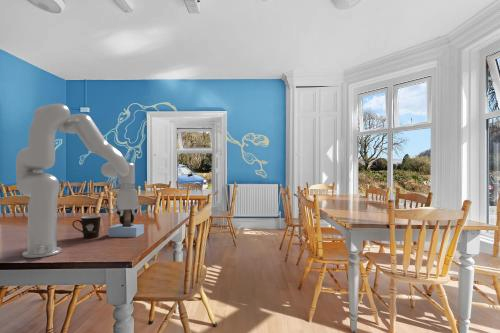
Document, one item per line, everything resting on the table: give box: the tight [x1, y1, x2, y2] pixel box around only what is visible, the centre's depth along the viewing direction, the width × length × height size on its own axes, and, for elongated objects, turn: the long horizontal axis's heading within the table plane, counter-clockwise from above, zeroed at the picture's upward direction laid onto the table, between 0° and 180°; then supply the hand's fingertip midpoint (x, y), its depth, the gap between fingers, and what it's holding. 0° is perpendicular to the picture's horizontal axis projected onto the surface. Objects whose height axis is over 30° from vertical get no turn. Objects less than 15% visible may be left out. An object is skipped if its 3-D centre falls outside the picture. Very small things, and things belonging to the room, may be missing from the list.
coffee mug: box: [72, 215, 102, 240], centre depth 148 cm, size 12×9×10 cm
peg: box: [122, 210, 132, 227], centre depth 153 cm, size 4×4×10 cm
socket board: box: [108, 223, 145, 238], centre depth 153 cm, size 14×9×4 cm, turn 86°
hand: (126, 222), depth 153 cm, fingers closed on peg, 4 cm apart
